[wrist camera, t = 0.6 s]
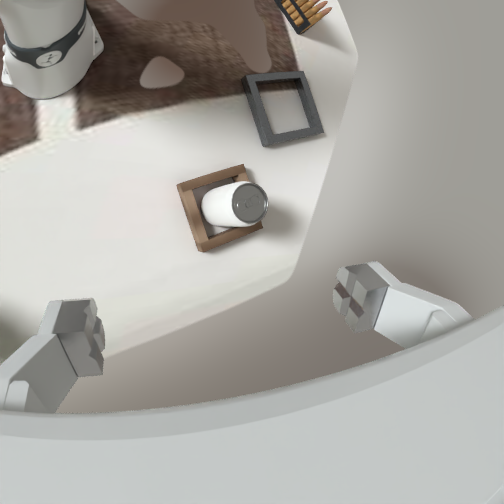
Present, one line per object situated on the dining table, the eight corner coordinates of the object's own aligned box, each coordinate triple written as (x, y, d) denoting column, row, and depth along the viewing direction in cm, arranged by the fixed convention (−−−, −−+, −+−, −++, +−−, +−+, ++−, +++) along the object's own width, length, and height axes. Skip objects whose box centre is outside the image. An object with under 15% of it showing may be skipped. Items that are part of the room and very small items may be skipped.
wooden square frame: (176, 185, 49) (180, 183, 47) (237, 166, 54) (243, 163, 52) (198, 251, 52) (203, 252, 50) (256, 227, 57) (263, 227, 55)
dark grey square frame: (241, 79, 53) (245, 75, 51) (297, 74, 58) (303, 71, 57) (262, 146, 56) (268, 144, 54) (317, 134, 62) (323, 132, 60)
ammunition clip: (303, 33, 58) (336, 10, 48) (297, 34, 58) (331, 11, 47) (279, -1, 55) (309, -27, 44) (274, 0, 54) (304, -27, 44)
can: (194, 195, 51) (221, 188, 40) (228, 183, 54) (262, 173, 43) (207, 231, 53) (237, 234, 42) (240, 218, 55) (276, 217, 45)
